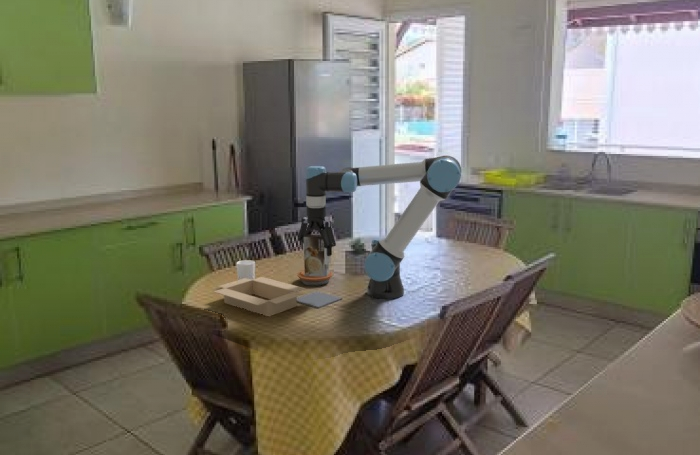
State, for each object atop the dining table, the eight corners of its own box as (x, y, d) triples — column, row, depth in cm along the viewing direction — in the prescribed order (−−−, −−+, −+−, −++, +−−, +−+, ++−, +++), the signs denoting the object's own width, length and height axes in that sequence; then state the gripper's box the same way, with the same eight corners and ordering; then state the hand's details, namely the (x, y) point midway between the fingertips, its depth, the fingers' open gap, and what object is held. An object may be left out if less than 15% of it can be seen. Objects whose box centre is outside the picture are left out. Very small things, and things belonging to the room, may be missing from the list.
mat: (342, 299, 254) (342, 297, 254) (318, 308, 243) (318, 306, 243) (316, 292, 263) (316, 291, 262) (292, 301, 252) (292, 299, 252)
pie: (339, 280, 280) (339, 269, 279) (320, 289, 267) (319, 277, 266) (310, 275, 288) (310, 264, 287) (290, 283, 275) (290, 272, 274)
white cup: (240, 288, 268) (239, 265, 266) (235, 283, 275) (234, 261, 273) (258, 285, 272) (257, 263, 270) (252, 281, 279) (251, 259, 277)
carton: (313, 305, 247) (312, 290, 246) (265, 322, 228) (265, 307, 227) (255, 288, 268) (255, 275, 267) (207, 303, 249) (207, 289, 248)
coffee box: (329, 272, 253) (329, 233, 250) (326, 277, 247) (326, 237, 243) (307, 271, 254) (306, 232, 251) (303, 276, 248) (303, 236, 245)
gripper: (345, 208, 240) (345, 264, 245) (301, 201, 255) (302, 254, 260) (332, 211, 235) (332, 268, 239) (287, 204, 249) (289, 258, 254)
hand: (316, 261), depth 250 cm, fingers closed on coffee box, 11 cm apart
